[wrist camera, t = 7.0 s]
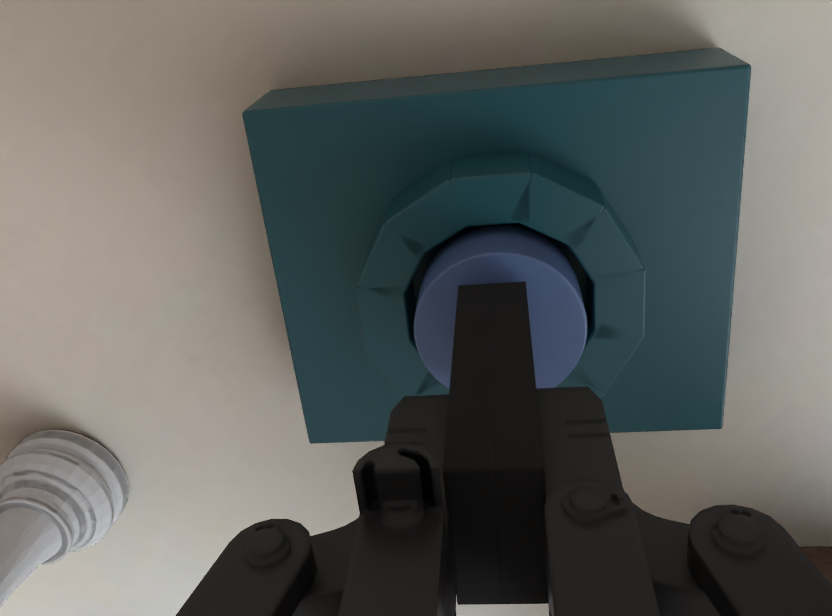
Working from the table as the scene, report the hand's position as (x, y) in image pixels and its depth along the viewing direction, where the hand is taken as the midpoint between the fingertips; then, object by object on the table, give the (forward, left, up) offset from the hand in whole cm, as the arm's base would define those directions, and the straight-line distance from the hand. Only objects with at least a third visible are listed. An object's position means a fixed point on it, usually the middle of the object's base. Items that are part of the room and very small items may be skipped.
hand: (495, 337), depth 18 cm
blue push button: (0, 0, -2) cm, 2 cm away
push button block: (0, 0, -6) cm, 6 cm away
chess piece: (+16, +8, -6) cm, 19 cm away
